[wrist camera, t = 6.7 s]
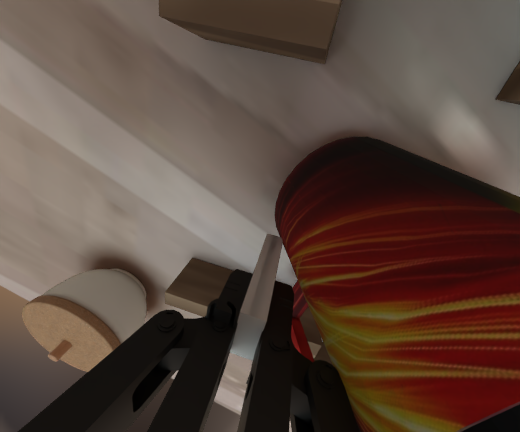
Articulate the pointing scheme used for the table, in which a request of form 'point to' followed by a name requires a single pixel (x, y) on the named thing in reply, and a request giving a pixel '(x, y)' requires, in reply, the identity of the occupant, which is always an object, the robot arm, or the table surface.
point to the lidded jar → (87, 316)
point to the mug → (407, 286)
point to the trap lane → (273, 41)
